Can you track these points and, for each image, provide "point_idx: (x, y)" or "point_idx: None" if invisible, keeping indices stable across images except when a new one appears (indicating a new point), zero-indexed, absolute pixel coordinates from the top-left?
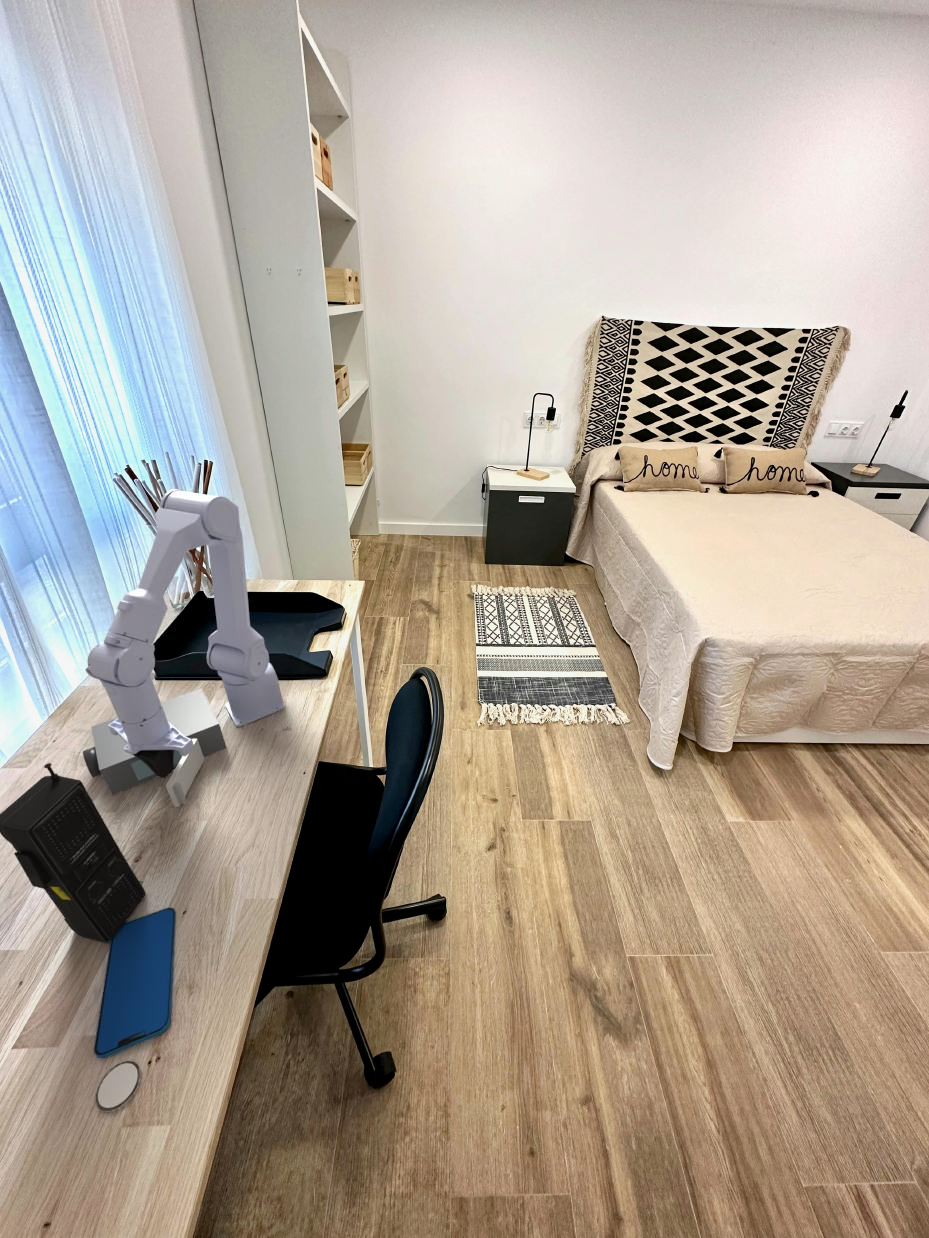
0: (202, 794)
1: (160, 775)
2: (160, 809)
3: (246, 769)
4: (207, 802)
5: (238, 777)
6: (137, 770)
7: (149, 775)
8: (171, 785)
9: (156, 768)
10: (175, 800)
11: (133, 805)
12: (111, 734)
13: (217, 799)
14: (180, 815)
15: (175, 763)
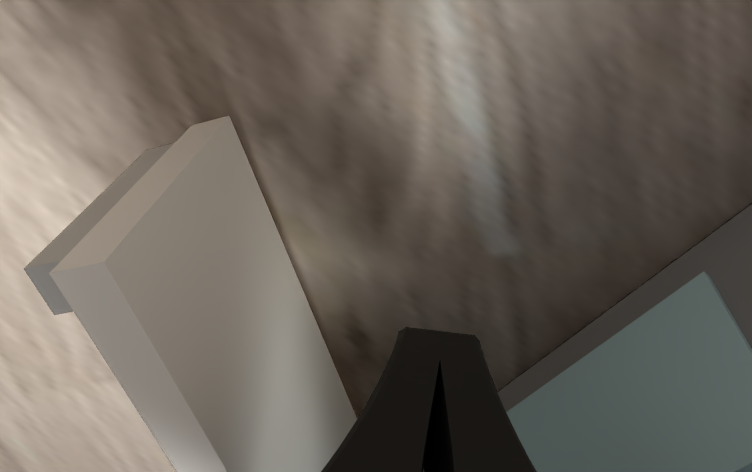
0: None
1: (411, 351)
2: (349, 73)
3: (72, 438)
4: (70, 203)
5: (64, 390)
6: (722, 361)
7: (633, 325)
8: (59, 274)
9: (383, 437)
10: (175, 154)
11: (614, 54)
12: None
13: (31, 237)
14: (150, 60)
15: None
